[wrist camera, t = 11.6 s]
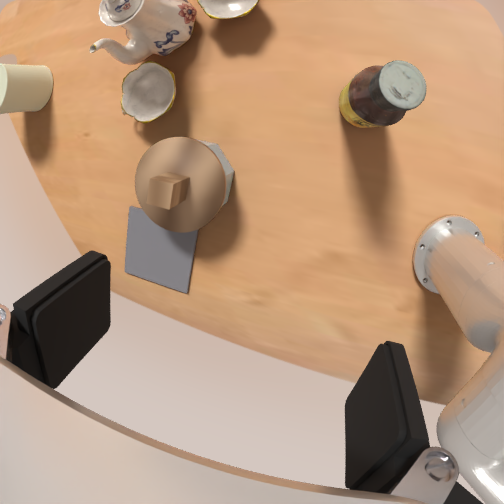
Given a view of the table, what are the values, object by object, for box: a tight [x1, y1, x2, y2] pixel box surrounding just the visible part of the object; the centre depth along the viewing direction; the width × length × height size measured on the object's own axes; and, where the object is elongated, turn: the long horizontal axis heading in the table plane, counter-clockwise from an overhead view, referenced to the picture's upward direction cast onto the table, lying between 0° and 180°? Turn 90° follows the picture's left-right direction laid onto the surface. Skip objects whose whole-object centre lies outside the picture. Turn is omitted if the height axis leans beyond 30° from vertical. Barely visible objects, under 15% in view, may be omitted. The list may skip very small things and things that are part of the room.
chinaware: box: [90, 0, 259, 124], centre depth 32 cm, size 28×17×17 cm, turn 145°
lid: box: [135, 137, 226, 233], centre depth 38 cm, size 12×12×6 cm
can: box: [0, 63, 53, 114], centre depth 39 cm, size 9×9×12 cm
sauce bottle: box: [339, 61, 426, 128], centre depth 29 cm, size 7×6×20 cm
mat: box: [125, 206, 198, 293], centre depth 51 cm, size 12×12×1 cm
